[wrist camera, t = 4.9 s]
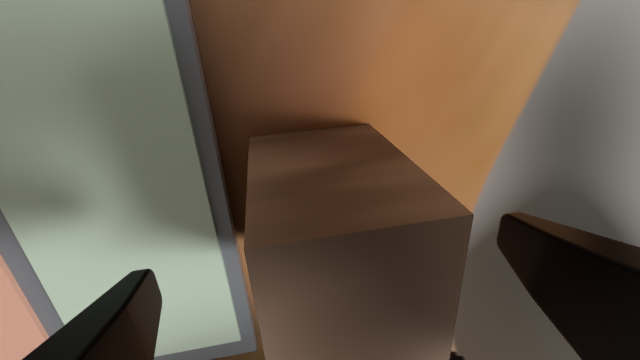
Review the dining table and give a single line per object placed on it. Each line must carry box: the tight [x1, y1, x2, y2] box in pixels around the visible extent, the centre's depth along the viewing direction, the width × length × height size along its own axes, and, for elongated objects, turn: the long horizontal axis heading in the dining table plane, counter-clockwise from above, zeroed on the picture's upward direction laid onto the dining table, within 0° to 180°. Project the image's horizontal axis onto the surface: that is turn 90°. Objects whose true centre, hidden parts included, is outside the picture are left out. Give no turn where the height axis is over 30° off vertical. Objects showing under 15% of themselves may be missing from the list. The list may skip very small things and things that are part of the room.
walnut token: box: [244, 124, 474, 360], centre depth 9 cm, size 4×4×6 cm
